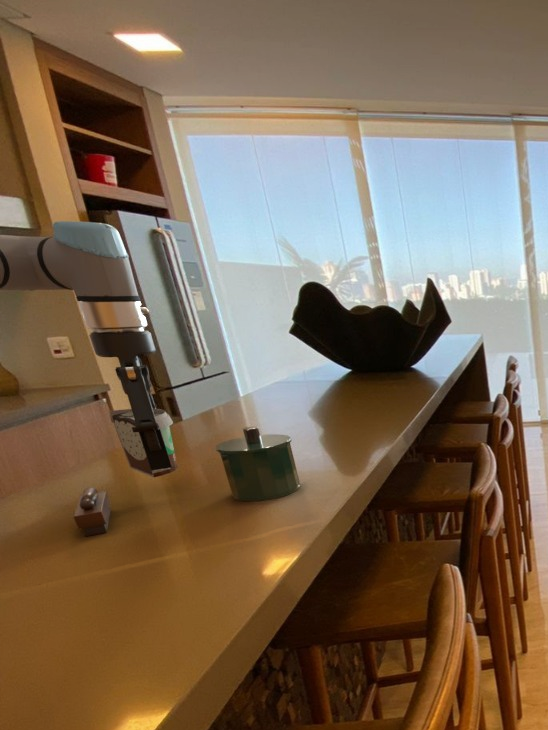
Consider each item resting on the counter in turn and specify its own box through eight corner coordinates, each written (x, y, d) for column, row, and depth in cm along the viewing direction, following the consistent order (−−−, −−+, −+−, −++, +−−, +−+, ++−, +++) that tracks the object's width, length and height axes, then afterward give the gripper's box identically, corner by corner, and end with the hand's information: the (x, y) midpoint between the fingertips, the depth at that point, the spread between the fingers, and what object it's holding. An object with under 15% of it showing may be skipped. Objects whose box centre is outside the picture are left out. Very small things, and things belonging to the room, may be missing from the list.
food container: (199, 469, 99) (183, 413, 96) (158, 479, 94) (138, 420, 91) (167, 458, 105) (150, 404, 101) (126, 466, 100) (107, 410, 96)
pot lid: (214, 447, 98) (208, 427, 97) (286, 437, 104) (281, 417, 103) (220, 461, 90) (213, 439, 89) (297, 449, 97) (292, 428, 95)
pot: (230, 490, 101) (216, 444, 98) (294, 478, 107) (283, 434, 104) (236, 505, 94) (221, 456, 90) (305, 492, 100) (293, 445, 96)
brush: (88, 514, 91) (77, 485, 89) (113, 509, 92) (102, 481, 91) (82, 538, 82) (69, 506, 80) (109, 532, 84) (97, 502, 82)
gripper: (149, 334, 84) (191, 472, 92) (149, 324, 101) (184, 442, 109) (81, 336, 80) (131, 481, 88) (93, 326, 97) (134, 448, 105)
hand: (161, 460), depth 99 cm, fingers closed on food container, 12 cm apart
